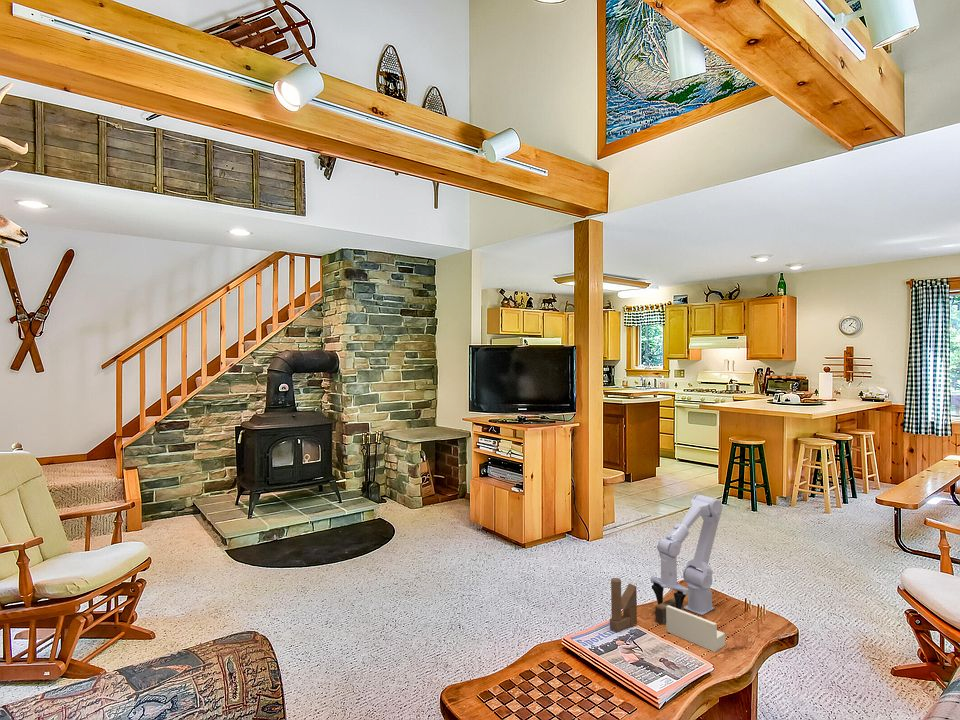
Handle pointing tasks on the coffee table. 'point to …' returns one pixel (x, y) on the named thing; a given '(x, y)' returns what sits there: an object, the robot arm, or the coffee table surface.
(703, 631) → the stepped cream panel
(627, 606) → the brown upright shaped block
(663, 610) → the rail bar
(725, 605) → the coffee table surface
